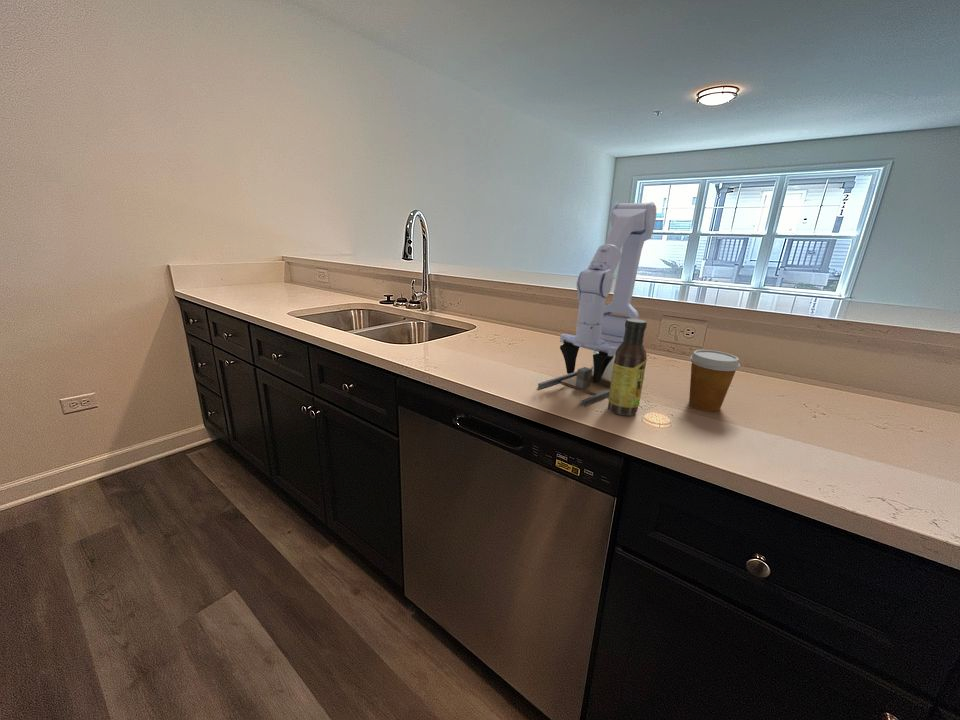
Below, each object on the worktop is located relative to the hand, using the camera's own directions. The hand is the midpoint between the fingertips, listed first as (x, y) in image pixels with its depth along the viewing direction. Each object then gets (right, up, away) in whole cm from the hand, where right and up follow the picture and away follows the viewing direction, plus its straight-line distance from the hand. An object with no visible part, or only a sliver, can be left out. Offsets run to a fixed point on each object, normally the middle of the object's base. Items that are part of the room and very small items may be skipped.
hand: (583, 377), depth 96 cm
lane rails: (+1, -3, +2) cm, 3 cm away
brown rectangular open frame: (+5, -2, +5) cm, 7 cm away
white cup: (+7, -1, +7) cm, 10 cm away
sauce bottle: (+6, -7, -11) cm, 14 cm away
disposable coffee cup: (+26, -6, -6) cm, 27 cm away
